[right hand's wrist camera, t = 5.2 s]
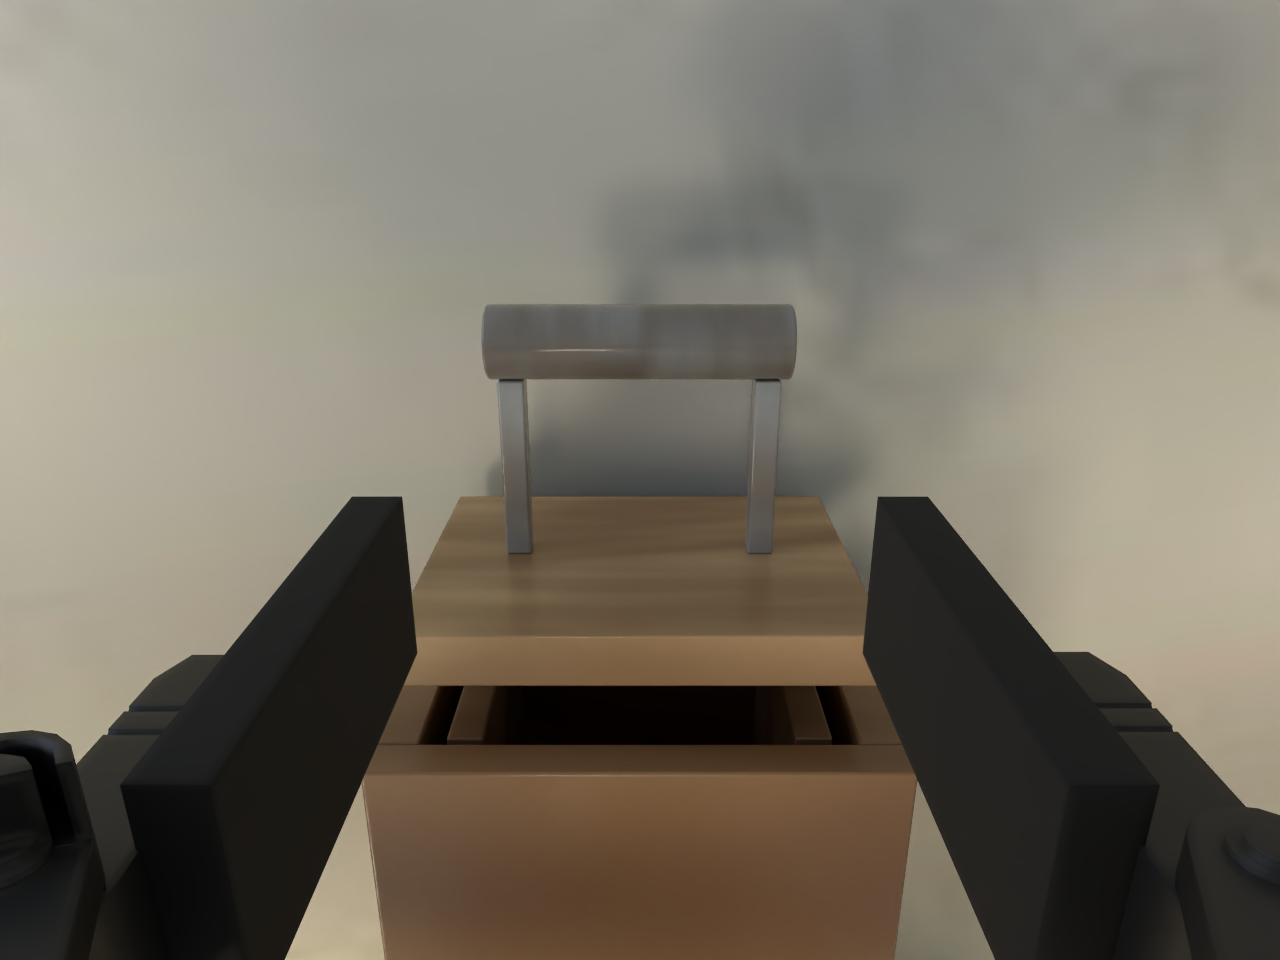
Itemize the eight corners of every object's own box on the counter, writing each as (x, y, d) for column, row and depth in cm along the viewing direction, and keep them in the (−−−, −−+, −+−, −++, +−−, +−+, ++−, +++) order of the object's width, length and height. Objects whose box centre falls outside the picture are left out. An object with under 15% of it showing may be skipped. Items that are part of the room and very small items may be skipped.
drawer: (444, 281, 23) (356, 343, 16) (834, 281, 23) (921, 343, 16) (499, 1028, 33) (460, 1279, 25) (779, 1028, 33) (818, 1279, 25)
